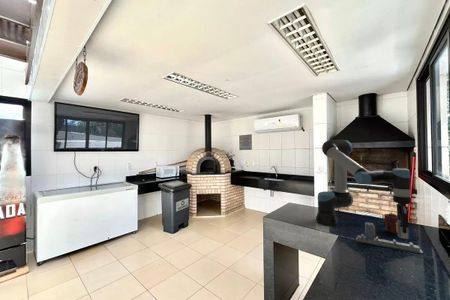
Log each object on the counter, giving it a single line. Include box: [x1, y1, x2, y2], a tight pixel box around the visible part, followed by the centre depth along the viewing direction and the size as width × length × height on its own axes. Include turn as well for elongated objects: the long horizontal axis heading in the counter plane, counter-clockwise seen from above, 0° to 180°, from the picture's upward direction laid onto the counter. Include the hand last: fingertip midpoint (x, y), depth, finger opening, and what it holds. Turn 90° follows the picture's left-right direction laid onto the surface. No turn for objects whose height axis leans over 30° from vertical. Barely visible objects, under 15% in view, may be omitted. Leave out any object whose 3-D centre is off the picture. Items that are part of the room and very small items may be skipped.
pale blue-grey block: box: [396, 220, 410, 240], centre depth 110 cm, size 5×4×9 cm
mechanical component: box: [382, 213, 398, 235], centre depth 131 cm, size 12×10×10 cm
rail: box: [355, 221, 424, 255], centre depth 114 cm, size 30×5×12 cm, turn 59°
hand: (403, 236), depth 110 cm, fingers closed on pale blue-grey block, 4 cm apart
